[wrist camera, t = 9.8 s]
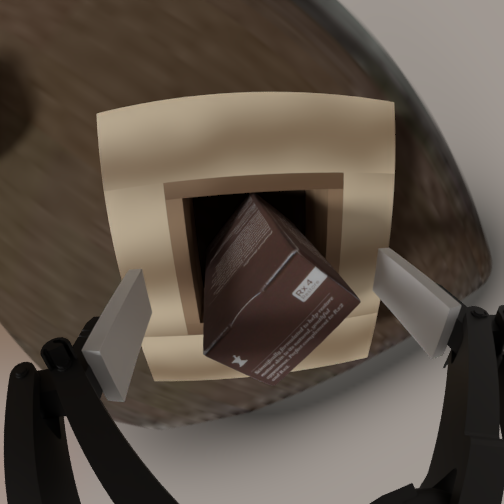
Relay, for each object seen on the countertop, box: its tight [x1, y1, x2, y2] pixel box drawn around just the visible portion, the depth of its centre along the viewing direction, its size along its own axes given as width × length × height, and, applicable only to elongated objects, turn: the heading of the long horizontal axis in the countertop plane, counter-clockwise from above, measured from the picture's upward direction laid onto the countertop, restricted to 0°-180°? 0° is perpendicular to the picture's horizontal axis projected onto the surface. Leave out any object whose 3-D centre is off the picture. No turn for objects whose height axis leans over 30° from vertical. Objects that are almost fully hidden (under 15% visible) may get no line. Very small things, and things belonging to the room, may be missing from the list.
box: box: [203, 192, 361, 386], centre depth 17 cm, size 6×4×12 cm
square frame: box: [97, 92, 395, 381], centre depth 20 cm, size 20×18×5 cm
